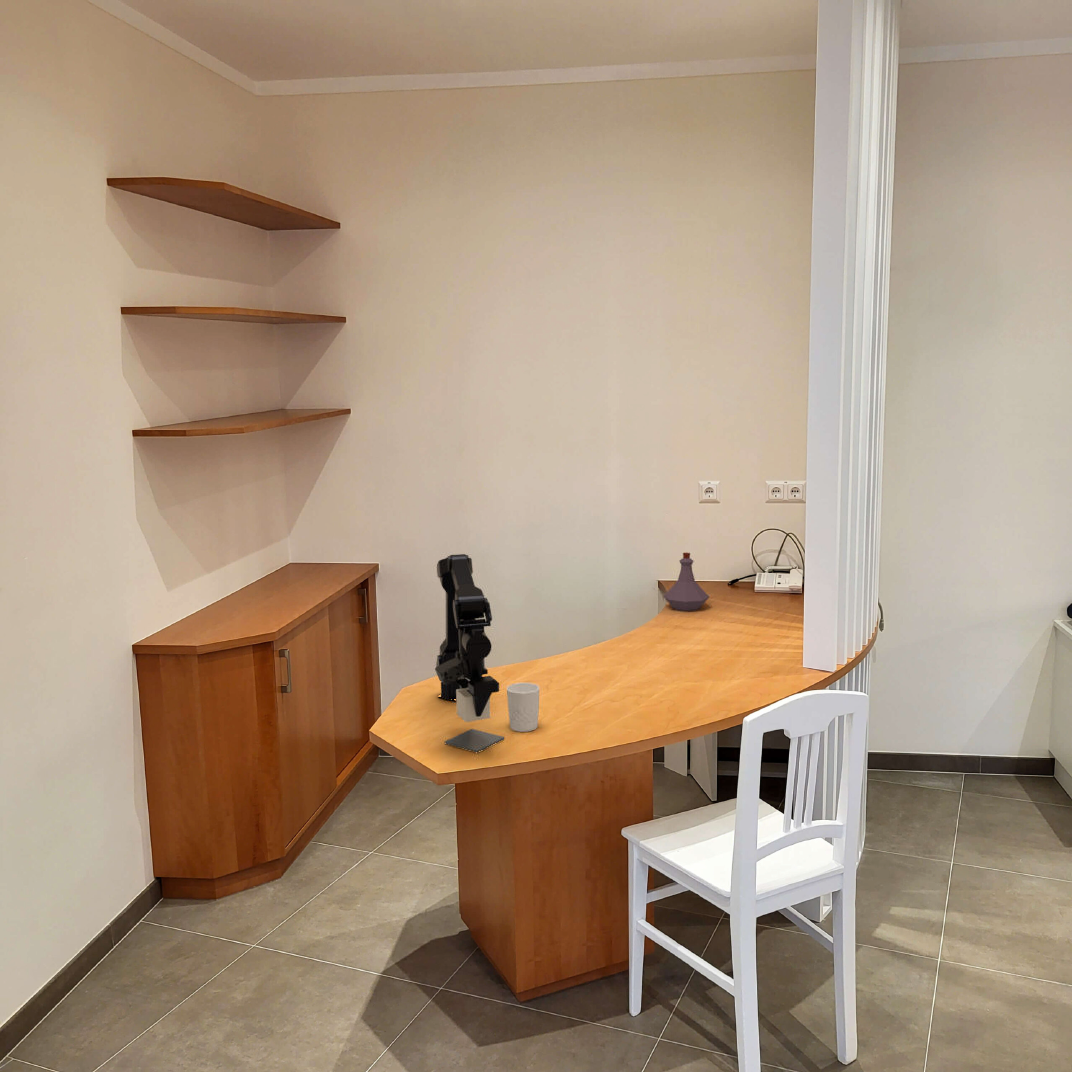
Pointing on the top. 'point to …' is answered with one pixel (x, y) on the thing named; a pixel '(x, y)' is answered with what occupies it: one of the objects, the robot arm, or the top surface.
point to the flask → (686, 589)
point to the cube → (469, 706)
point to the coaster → (474, 740)
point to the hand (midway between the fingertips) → (473, 712)
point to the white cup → (523, 706)
